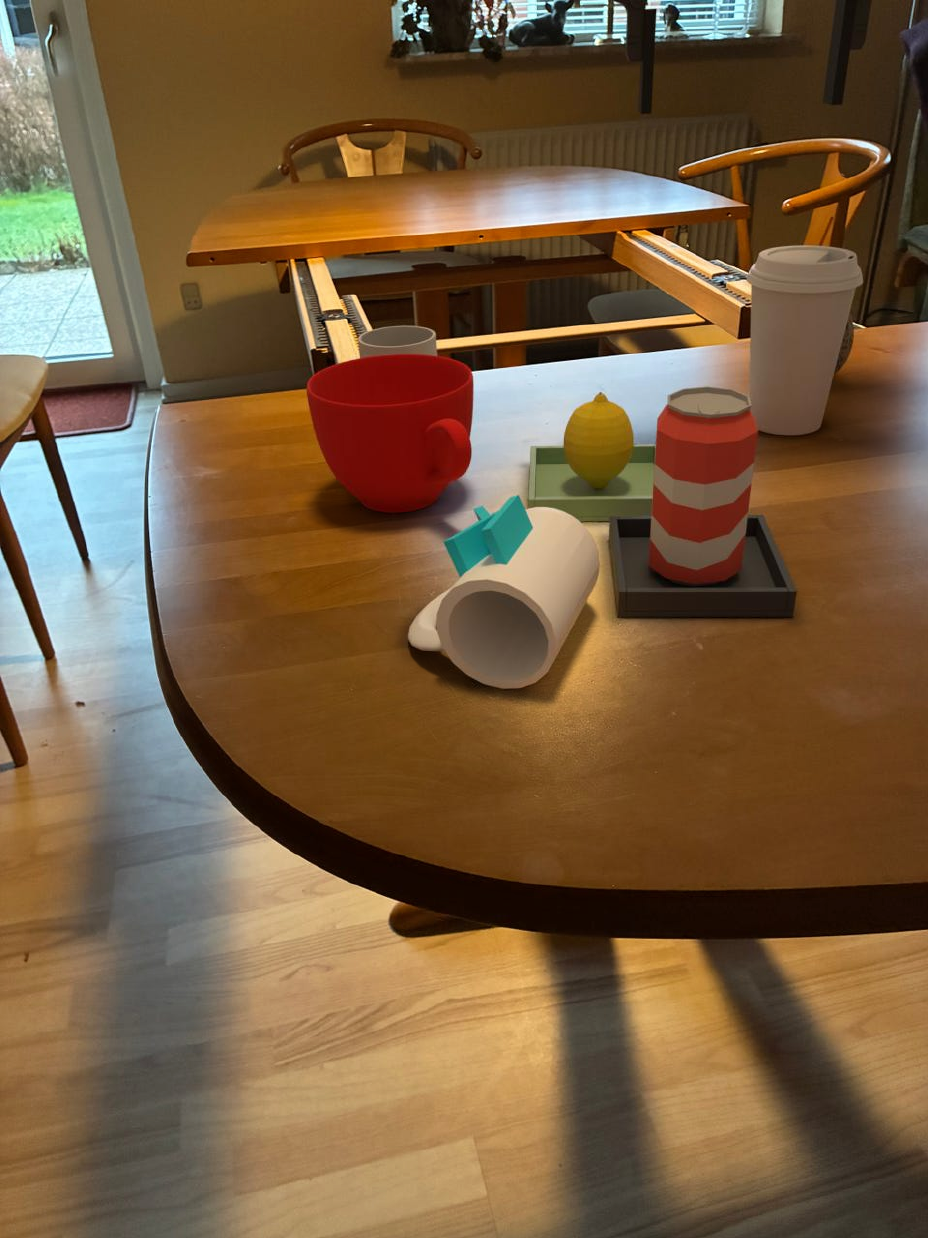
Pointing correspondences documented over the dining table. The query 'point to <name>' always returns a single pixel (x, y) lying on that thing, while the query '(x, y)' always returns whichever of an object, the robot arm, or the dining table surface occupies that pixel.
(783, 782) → the dining table surface
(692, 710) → the dining table surface
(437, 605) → the mug
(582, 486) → the green tray
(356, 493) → the ceramic cup
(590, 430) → the fruit
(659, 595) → the charcoal tray
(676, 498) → the beverage can
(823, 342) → the coffee cup
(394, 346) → the cup
